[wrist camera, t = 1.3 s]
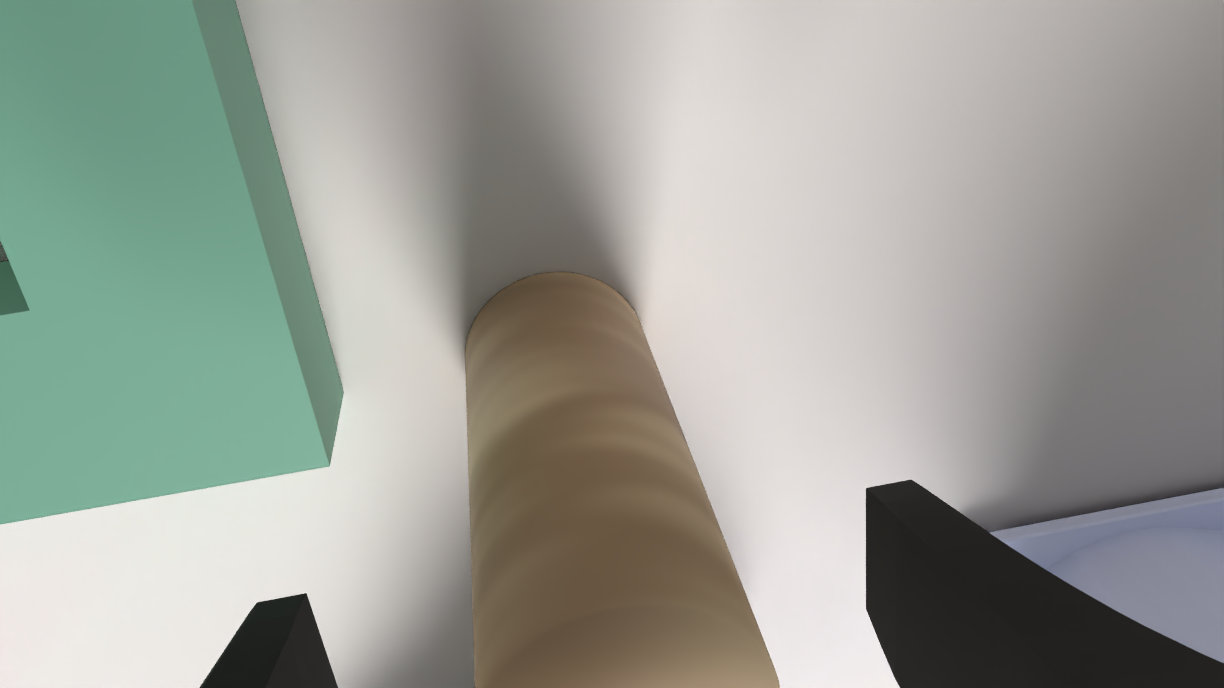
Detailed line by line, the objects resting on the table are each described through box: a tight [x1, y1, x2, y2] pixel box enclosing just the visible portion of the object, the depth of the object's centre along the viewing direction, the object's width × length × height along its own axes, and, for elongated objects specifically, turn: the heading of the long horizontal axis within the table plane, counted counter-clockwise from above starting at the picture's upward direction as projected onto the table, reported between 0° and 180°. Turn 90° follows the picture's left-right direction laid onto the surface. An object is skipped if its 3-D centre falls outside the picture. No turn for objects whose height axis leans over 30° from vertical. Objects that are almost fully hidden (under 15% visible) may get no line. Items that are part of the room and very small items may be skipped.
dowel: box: [465, 272, 780, 688], centre depth 15 cm, size 3×3×9 cm
